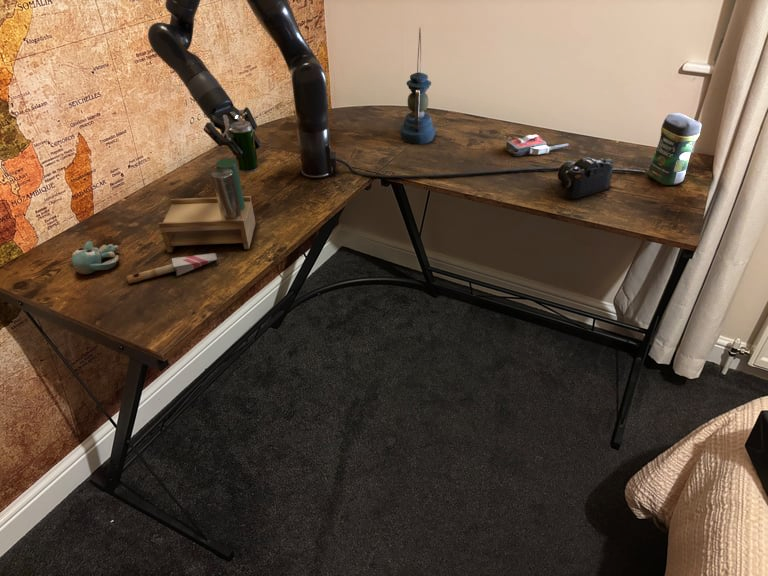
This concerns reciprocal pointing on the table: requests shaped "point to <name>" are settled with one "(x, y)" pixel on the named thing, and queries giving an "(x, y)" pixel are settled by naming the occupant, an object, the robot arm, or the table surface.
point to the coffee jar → (674, 149)
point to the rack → (212, 214)
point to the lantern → (418, 109)
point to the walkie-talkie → (530, 146)
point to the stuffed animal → (94, 258)
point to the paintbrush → (175, 267)
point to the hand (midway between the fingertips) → (249, 151)
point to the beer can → (245, 146)
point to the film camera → (585, 176)
